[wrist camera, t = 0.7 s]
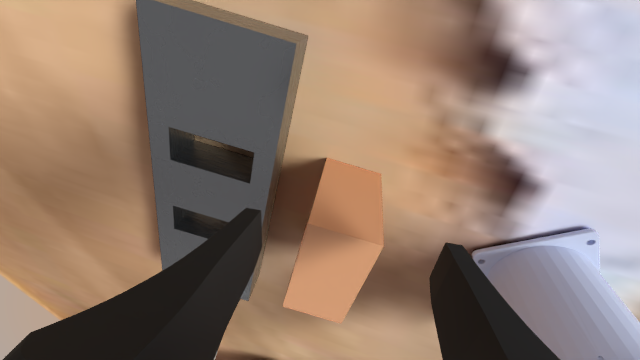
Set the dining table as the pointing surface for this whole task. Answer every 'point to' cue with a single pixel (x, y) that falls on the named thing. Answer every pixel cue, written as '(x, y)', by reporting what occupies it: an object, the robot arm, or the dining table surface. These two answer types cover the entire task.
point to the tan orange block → (338, 242)
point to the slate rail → (214, 117)
